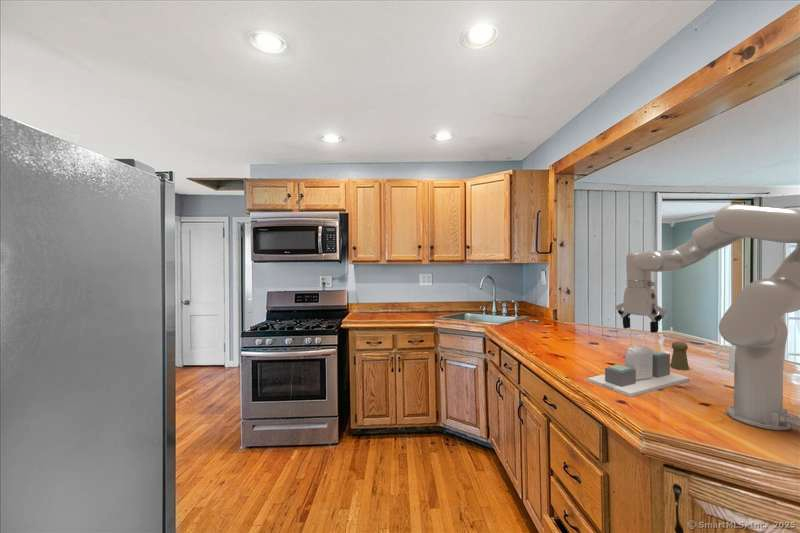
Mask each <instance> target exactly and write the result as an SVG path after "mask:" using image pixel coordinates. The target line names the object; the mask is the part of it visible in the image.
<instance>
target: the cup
mask: <svg viewBox="0 0 800 533" xmlns="http://www.w3.org/2000/svg"><path fill="white" fill-rule="evenodd" d="M721 347H723V348H726V349H728V352H729V353H728V355H729V356H728V360H722V359H721V355H720V351H721ZM735 349H736V346H735V345H733V344H730V345H725V344H719V345H718V346H717V349H716V358H717V361H718V362H719V363H721V364H727V365H728V370H729V372H731V373H733V374H734V362H735Z"/></svg>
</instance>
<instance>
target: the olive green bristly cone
mask: <svg viewBox="0 0 800 533" xmlns="http://www.w3.org/2000/svg"><path fill="white" fill-rule="evenodd" d="M688 346H689V345H688V344H687V343H686V342H684V341H673V342H672V343H671V348H672V349H673V351H672V356H671V359H670V369H675V370H677V371H678V370H679V371H689V364H688V362H689V361H688V356H687V350H688Z"/></svg>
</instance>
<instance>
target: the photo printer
mask: <svg viewBox="0 0 800 533" xmlns="http://www.w3.org/2000/svg"><path fill="white" fill-rule="evenodd" d="M624 353H625V354H624V356H625V357H624V359H625V360H624V366H625V367H629V368H632V369H635V370H636V380H640V379H648V378H652V367H653V352H652V348H651V347H649V346H645V345H639V344H638V345H632V346H630V347H629V348H627V349H626V350H625V352H624Z"/></svg>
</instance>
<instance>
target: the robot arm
mask: <svg viewBox="0 0 800 533" xmlns="http://www.w3.org/2000/svg"><path fill="white" fill-rule="evenodd" d="M691 237H692V238H691V239H689V240H688V241H686V243H684V244H682V245H681V244H680V245H679V246H677V247H675V248H674V249H673V248H672V249H671V250H664V249H663V250H650V251H647V252H646V251H638V252H637V251H636V252H629V253H627V254H626V258H625V260H626V262H625V264H626V288H625V290H624V294H623V301H622V303H619V304H617V305H615V308H616V310H617V313H618V315H620V318H622V328H623V329H629V328H631V318H630V316H631V315H635V316H644V317H648V318H649V319H650V323H649V325H650V326H649V329H650V331H649V332H650V333H652V334H654V333H655V334H656V333H658V331H659V322H660V321H661V320H662V319H663V318H664V317H665V315H666V314H667V310H666V309H664V308H662V307H661V306H659V305H658V299H657V295H656V291H655V288H653V287H654V286H656V282H654V281H652V272H654V273H657V272H658V273H662V272H674V271H678V270H681V269H684V268H686V267H688V266H692V265H693V264H695V263H698V262H700V261H701V260H704V259H705V258H707V257H708V256H710V255H712V254H713V253H714V252H717V251H718V250H721V249H724V248H725V247H728V246H730V245H732V244H735V243H737V242H739V241H741V240H744V239H746V238H748V239H755V240H762V241H768V242H774V243H783V244H796V247H795V248H794V250H792V252H791V253H789V254H788V256H787V257H785V258H784V259H783V261H782V263H781V264H780V266H779V267H778V268H777V269H776V271H774V273H773V274H772V275H771V276H770V277H768V278H762V279H761V278H760V279H757V280H754V281H753V282H750V283H749V284H747V285H746V286H745V287H744V288H743V289H742V290H741V291H740V292H739V293H738V295H737V296H736V297H735V299H734V301H733V302H732V303H731V304H730V306H729V307H728V309H727V310H726V312H725V313H724V314H723V316H721V319H720V321H719V323H718V331H719V334H720V336H721V337H722V338H723V340H724V341H726V342H727V343H729V344H730V345H735V346H736V349H735V362H734V373H733V374H734V376H733V378H734V380H733V405H732V406H729V407H726V414H727V415H728V416H729V417H730V418H732V419H734V420H736V421H738V422H741V423H744V424H746V425H749V426H753V427H756V428H761V429H766V430H771V431H788V430H790V429H791V428H792V426H793V427H796V428H799V429H800V418H799V417H798V416H797V417H796V416H792V415H790V414H789V413H788V409H787V408H785V407H783V406H784V404H783V403H784V402H783V400H784V395H783V394H784V393H783V392H784V365H785V364H784V363H785V362H784V361H785V350H786V346H787V345H786V344H787V341H788V334H789V333H788V327H787V326H788V325H787V324H786V322H785V320H784V319H783V318H782V317H783V316H784V315H785V314H789V313H794V312H797V311H799V310H800V209H794V208H780V207H767V206H757V205H754V204H751V205H750V204H741V203H739V204H738V203H736V204H734V203H733V204H729V205H726V206H724V207H722V208H720V209H719V210H718V211H716V212H715V214H714V216H713V217H712V220H711V221H709V222H708V223H706V224H703V225H701V226H699V227H697V228H696V229H694V230H693V231H692V233H691Z"/></svg>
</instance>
